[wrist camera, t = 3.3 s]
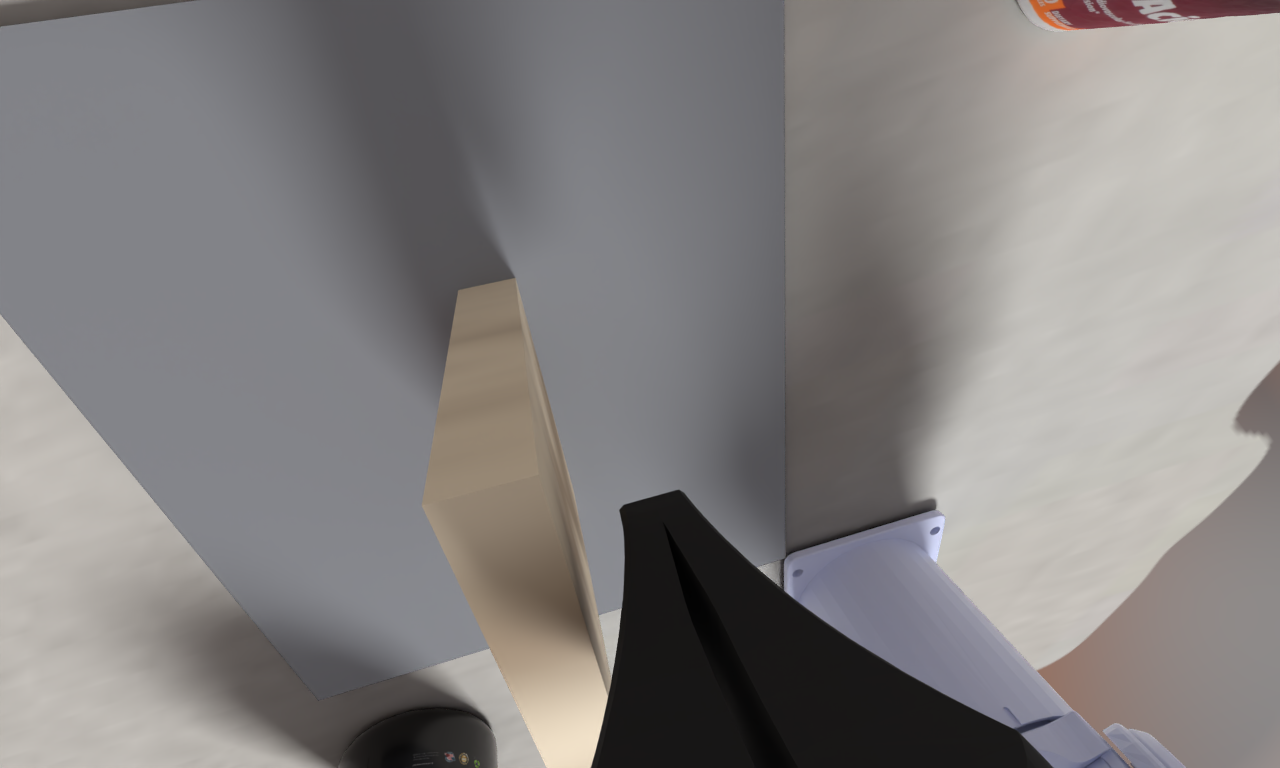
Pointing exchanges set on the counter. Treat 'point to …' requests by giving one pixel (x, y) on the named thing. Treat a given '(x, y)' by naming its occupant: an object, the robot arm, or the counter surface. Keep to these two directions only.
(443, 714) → the supplement bottle
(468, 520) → the tile
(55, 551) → the counter surface
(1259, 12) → the pill bottle
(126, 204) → the mat
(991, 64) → the counter surface
